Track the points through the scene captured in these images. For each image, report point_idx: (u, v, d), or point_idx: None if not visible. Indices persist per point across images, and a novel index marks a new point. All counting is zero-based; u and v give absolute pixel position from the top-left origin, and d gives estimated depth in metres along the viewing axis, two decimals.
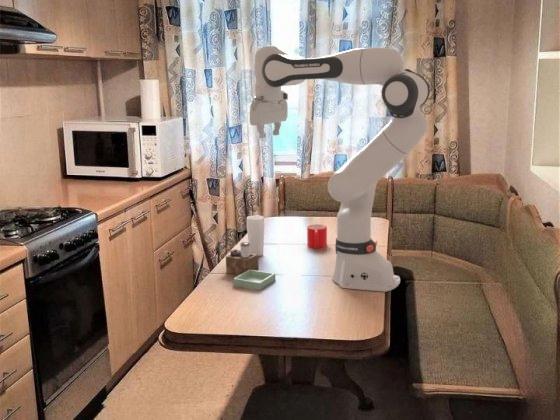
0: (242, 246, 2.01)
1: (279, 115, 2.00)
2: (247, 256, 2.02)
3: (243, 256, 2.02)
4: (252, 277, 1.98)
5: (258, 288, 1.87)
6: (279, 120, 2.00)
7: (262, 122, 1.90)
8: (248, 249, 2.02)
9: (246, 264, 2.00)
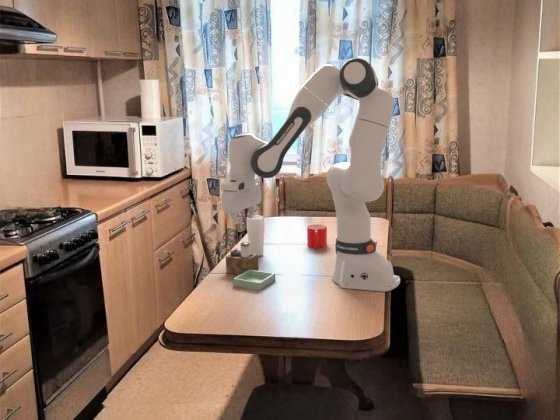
0: (242, 246, 2.01)
1: None
2: (247, 256, 2.02)
3: (243, 256, 2.02)
4: (252, 277, 1.98)
5: (258, 288, 1.87)
6: None
7: None
8: (248, 249, 2.02)
9: (246, 264, 2.00)
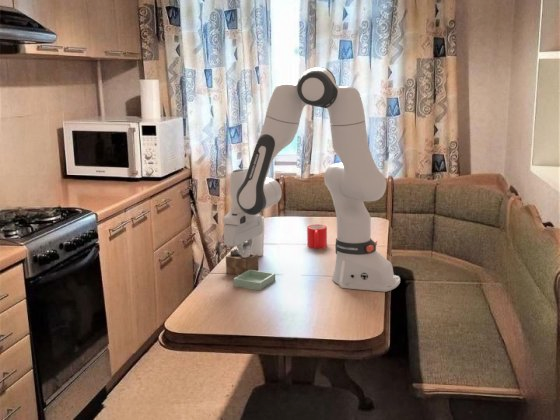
0: None
1: None
2: (247, 256, 2.02)
3: (243, 256, 2.02)
4: (252, 277, 1.98)
5: (258, 288, 1.87)
6: None
7: None
8: (248, 249, 2.02)
9: (246, 264, 2.00)
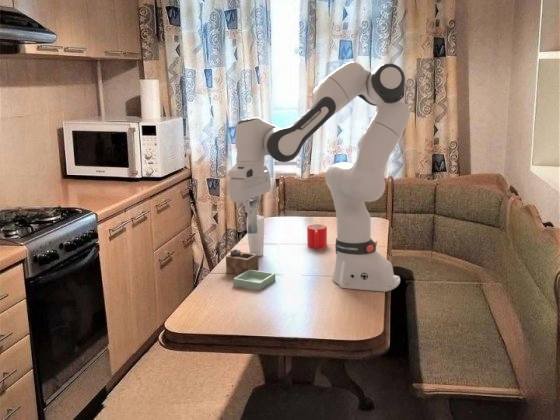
0: None
1: None
2: (254, 214, 1.87)
3: (249, 215, 1.87)
4: (252, 277, 1.98)
5: (258, 288, 1.87)
6: None
7: None
8: (255, 207, 1.87)
9: (246, 264, 2.00)
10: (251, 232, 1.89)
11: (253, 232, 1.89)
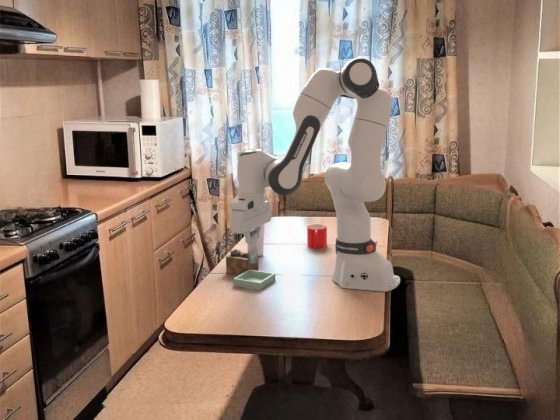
0: None
1: None
2: (254, 245, 1.89)
3: (249, 245, 1.89)
4: (252, 277, 1.98)
5: (258, 288, 1.87)
6: None
7: None
8: (255, 237, 1.89)
9: (246, 264, 2.00)
10: (251, 262, 1.91)
11: (253, 262, 1.91)
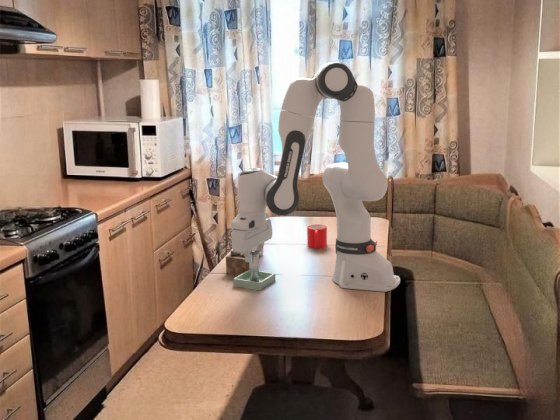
0: (251, 254, 1.90)
1: None
2: (256, 265, 1.91)
3: (251, 265, 1.91)
4: None
5: (258, 288, 1.87)
6: None
7: None
8: (257, 257, 1.91)
9: (246, 264, 2.00)
10: None
11: None
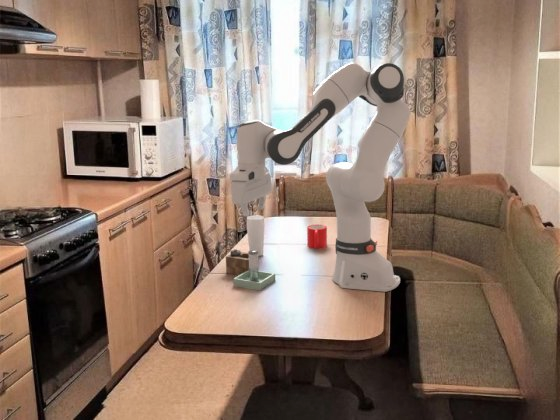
0: (250, 254, 1.90)
1: None
2: (256, 265, 1.91)
3: (251, 265, 1.91)
4: None
5: (258, 288, 1.87)
6: None
7: None
8: (257, 257, 1.91)
9: (246, 264, 2.00)
10: None
11: None
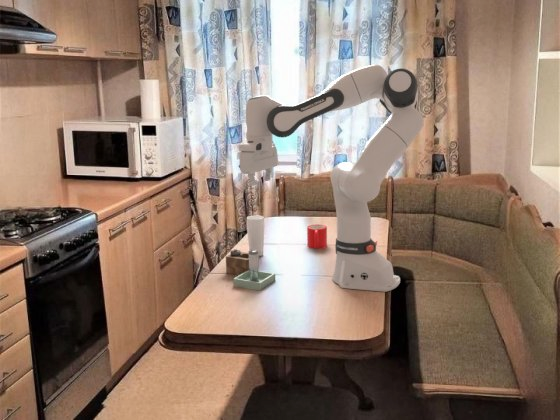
0: (250, 254, 1.90)
1: None
2: (256, 265, 1.91)
3: (251, 265, 1.91)
4: None
5: (258, 288, 1.87)
6: None
7: None
8: (257, 257, 1.91)
9: (246, 264, 2.00)
10: None
11: None
